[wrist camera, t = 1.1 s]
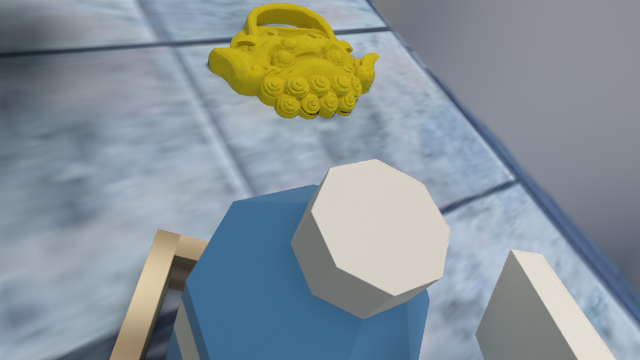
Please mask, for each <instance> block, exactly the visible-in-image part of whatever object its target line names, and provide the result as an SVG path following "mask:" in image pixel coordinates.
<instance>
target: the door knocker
mask: <svg viewBox="0 0 640 360" xmlns="http://www.w3.org/2000/svg"><path fill="white" fill-rule="evenodd" d="M273 23H275V24H287V25H293V26H296V27H299V28H289V27H275V26H261V25H265V24H273ZM352 50H353V49H352V47H351V46H350V44H349V43H347V42H345V41H339V40H337V39H336V37H335V35H334V33H333V31H332V29H331V27H330V26H329V24H328V23H327V22H326V21H325V20H324V18H322V17H321V16H320V15H318V14H317V13H315V12H314V11H312V10H309V9H307V8H305V7H302V6H299V5H295V4H288V3H272V4H267V5H262V6H259V7H257V8H255V9H253V10H252V11H251V12H250V13H249V14H248V16H247V20H246V23H245V27H244V30H242V31H240V32H239V33H238V34H236V35H235V36H234V37H233V38H232V42H231V43H230V48H214V49H213V50H212V51H211V52H210V53H209V60H208V63H209V70H210V71H211V72H213V73H215V74H217V75H219V76H220V77H222V78H224V79H225V80H226V81H227V82H228V83H229V85H230V86H231V87H232V88H233V89H234V90H235V91H236V92H237V93H239V94H241V95H245V96H254V95H257V97H258V98H259V99H260V100H261V102H263V103H264V104H266V105H268V106H274V109H275V111H276V112H277V114H278V115H279V116H281V117H283V118H293V117H295V116H297V115H299V116H300V117H302V118H305V119H313V118H315V117H316V116H315V115H316V114H315V115H309V114H307V113H310V114H314V113H317V112H318V111H319V113H318V115H319V116H321V117H324V118H330V117H332V116H333V114H334V112H335V111H336V110H337V111H336V112H335V113H337V114H339V115H342V116H347V115H349V113H350V112H349V111H351V110H352V109H353V108H354V106H355V103H356V101H357V99H358V98H359V96H360V95H361V94H364V93H366V92H368V89H367V88H369V87H370V86H371V84H372V83H373V81H374V77H375V72H374V64H375V61H376V60H377V59H379V56H378V55H377V54H376V53H368V54H366V55H365V56H364V57H363V58H358V59H356V60H355V59H354V58H353V56H352V55H351V54H350V52H352ZM366 89H367V90H366ZM359 94H360V95H359ZM357 95H359V96H357ZM354 96H357V97H354ZM338 104H339V105H338ZM302 107H303V109H304V110H305V111H306V112H307V113H306V112H304V110H303V109H302ZM337 108H338V109H337ZM319 109H320V110H319ZM340 111H344V112H349V113H341V112H340Z"/></svg>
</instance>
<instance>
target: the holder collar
mask: <svg viewBox="0 0 640 360" xmlns="http://www.w3.org/2000/svg"><path fill="white" fill-rule="evenodd" d="M208 243H209V242H208V241H204V240H200V239H196V238H192V237H188V236H184V235H180V234H176V233H172V232H168V231H164V230H160V229H158V230H157V233H156V236H155V238H154V241H153V244H152V246H151V249H150V252H149V254H148V257H147V260H146V263H145V265H144V268H143V271H142V273H141V276H140V279H139V281H138V284H137V287H136V290H135V292H134V295H133V298H132V300H131V303H130V306H129V308H128V311H127V314H126V317H125V319H124V322H123V325H122V327H121V330H120V333H119V335H118V338H117V341H116V344H115V346H114V349H113V352H112V354H111V357H110V360H145V356H146V353H147V350H148V347H149V344H150V341H151V338H152V335H153V332H154V329H155V326H156V323H157V320H158V317H159V314H160V310H161V307H162V304H163V301H164V298H165V295H166V292H167V289H168V287H169V288H173V289H178V290H182V291H183V290H184V286H185V282H186V280H187V278H188V276H189V275H190V273H191V271H192V270H193V268H194V266H195V265H196V263H197V261H198V260H199V258H200V256H201V255H202V253H203V251H204V250H205V248H206V246H207V245H208Z"/></svg>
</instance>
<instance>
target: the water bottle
mask: <svg viewBox="0 0 640 360" xmlns="http://www.w3.org/2000/svg"><path fill="white" fill-rule="evenodd" d="M449 236H450V228H449V227H448V225H447V223H446V221H445V220H444V218H443V216H442V215H441V213H440V211H439V210H438V208H437V206H436V205H435V203H434V201H433V200H432V198H431V196H430V195H429V193H428V191H427V189H426V188H425V186H424V184H423V183H421V182H419V181H417V180H415V179H413V178H411V177H410V176H408V175H406V174H404V173H402V172H400V171H398V170H396V169H394V168H392V167H390V166H388V165H386V164H385V163H383V162H381V161H379V160H377V159H373V160H368V161H363V162H358V163H353V164H348V165H343V166H338V167H332V168H330V169H329V171H328V172H327V174H326V176H325V177H324V179H323V181H322V182H321V184H320V185H319V186H318V185H309V186H304V187H300V188H295V189H290V190H286V191H281V192H276V193H272V194H267V195H262V196H258V197H253V198H248V199H244V200H239V201H234V202H233V203H232V205H231V206H230V208H229V210H228V211H227V213H226V215H225V216H224V218H223V220H222V221H221V223H220V225H219V226H218V228H217V230H216V231H215V233H214V235H213V236H212V238H211V240H210V241H209V243H208V245H207V246H206V248H205V250H204V251H203V253H202V255H201V256H200V258H199V260H198V261H197V263H196V265H195V266H194V268H193V270H192V271H191V273H190V275H189V276H188V278H187V280H186V282H185V286H184V290H183V294H182V298H181V301H180V305H179V309H178V313H177V317H176V320H175V324H174V328H173V332H172V336H171V339H170V343H169V347H168V351H167V355H166V358H165V360H418V358H419V353H420V348H421V343H422V338H423V333H424V328H425V322H426V317H427V312H428V307H429V302H430V300H429V297H428V293H427V290H426V288H427V287H429V286H430V285H432V284H433V283H435V282H436V281H438V280H439V279H441V278H442V275H443V269H444V264H445V258H446V253H447V247H448V241H449Z"/></svg>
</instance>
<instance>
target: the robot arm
mask: <svg viewBox="0 0 640 360" xmlns="http://www.w3.org/2000/svg"><path fill="white" fill-rule="evenodd" d="M475 335H476V338H477V340H478V343H479V346H480V348H481V351H482V354H483V357H484V359H485V360H616V359H615V358H614V356H613V355H612V353H611V352H610V351H609V349H608V348H607V346H606V345H605V344H604V342H603V341H602V339H601V338H600V336H599V335H598V334H597V332H596V331H595V329H594V328H593V326H592V325H591V324H590V322H589V321H588V319H587V318H586V317H585V315H584V314H583V312H582V311H581V309H580V308H579V307H578V305H577V304H576V302H575V301H574V299H573V298H572V297H571V295H570V294H569V292H568V291H567V290H566V288H565V287H564V285H563V284H562V282H561V281H560V280H559V278H558V277H557V275H556V274H555V272H554V271H553V270H552V268H551V267H550V265H549V264H548V263H547V261H546V260H545V258H544V257H543V255H542V254H536V253H531V252H525V251H519V250H513V249H511V250H510V253H509V255H508V258H507V260H506V262H505V265H504V267H503V270H502V272H501V274H500V277H499V279H498V282H497V284H496V286H495V289H494V291H493V294H492V296H491V298H490V301H489V303H488V306H487V308H486V310H485V313H484V315H483V318H482V320H481V322H480V325H479V327H478V330H477V332H476V334H475Z"/></svg>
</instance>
